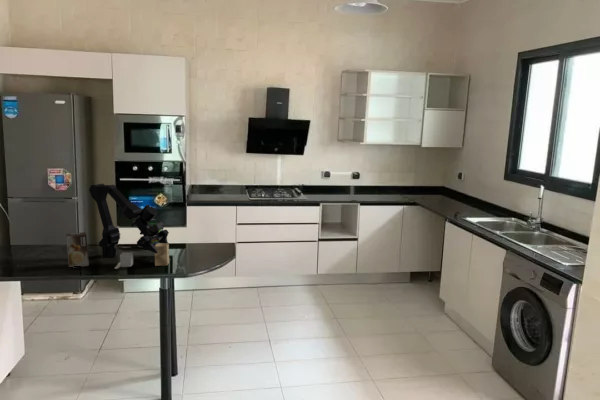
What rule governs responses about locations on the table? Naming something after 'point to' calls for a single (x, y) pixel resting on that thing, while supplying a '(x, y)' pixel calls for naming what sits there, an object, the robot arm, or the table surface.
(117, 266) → the plain tile
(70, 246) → the coffee box
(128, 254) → the grey block
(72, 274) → the table surface
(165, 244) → the oak block
